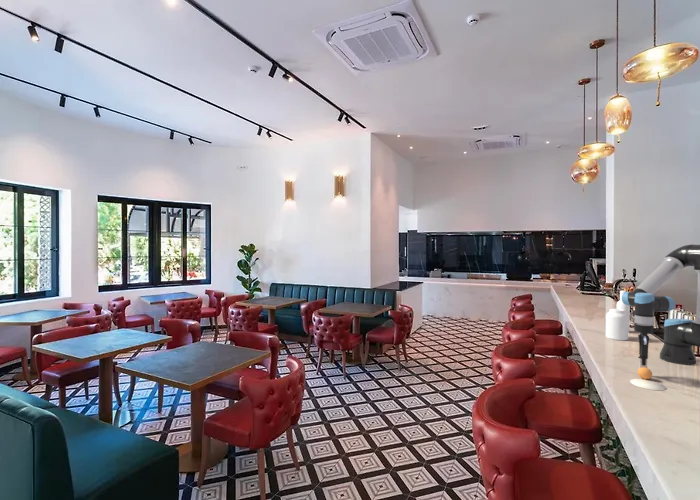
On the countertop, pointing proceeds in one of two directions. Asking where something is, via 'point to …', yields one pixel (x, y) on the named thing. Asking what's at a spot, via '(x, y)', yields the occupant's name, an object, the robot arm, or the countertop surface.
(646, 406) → the countertop surface
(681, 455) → the countertop surface
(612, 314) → the white container
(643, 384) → the white plate
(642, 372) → the ball
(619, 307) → the bottle
